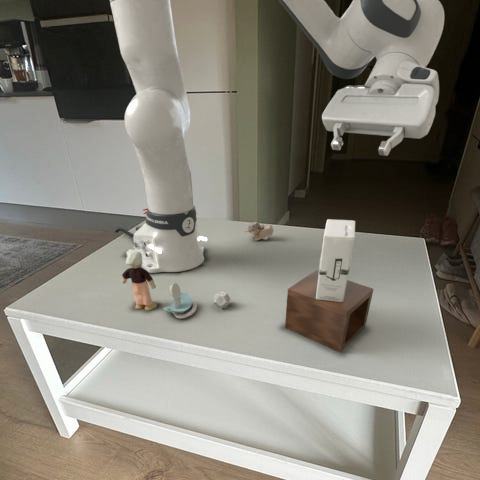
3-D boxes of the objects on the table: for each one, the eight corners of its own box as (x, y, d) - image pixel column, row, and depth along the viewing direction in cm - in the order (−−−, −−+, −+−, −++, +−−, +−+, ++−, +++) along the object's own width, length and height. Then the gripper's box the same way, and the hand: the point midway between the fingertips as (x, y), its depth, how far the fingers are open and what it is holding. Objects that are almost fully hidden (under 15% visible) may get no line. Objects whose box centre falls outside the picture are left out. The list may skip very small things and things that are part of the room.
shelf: (284, 327, 72) (287, 288, 67) (312, 307, 78) (316, 269, 73) (340, 352, 65) (347, 311, 60) (365, 328, 71) (373, 288, 66)
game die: (218, 300, 81) (217, 288, 79) (233, 303, 79) (233, 291, 77) (210, 308, 78) (209, 295, 76) (226, 311, 77) (225, 299, 75)
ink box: (318, 277, 70) (326, 217, 63) (345, 280, 69) (355, 219, 62) (314, 300, 63) (322, 234, 57) (344, 303, 62) (355, 237, 56)
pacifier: (202, 305, 79) (177, 300, 81) (201, 280, 75) (175, 275, 77) (186, 323, 73) (160, 317, 75) (184, 297, 70) (157, 291, 71)
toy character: (251, 242, 113) (243, 224, 111) (275, 233, 110) (268, 215, 108) (249, 247, 110) (241, 229, 107) (273, 238, 107) (266, 220, 104)
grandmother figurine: (163, 302, 80) (155, 248, 73) (158, 311, 77) (149, 255, 70) (129, 300, 81) (118, 246, 74) (123, 310, 78) (110, 254, 70)
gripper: (336, 72, 71) (304, 134, 71) (447, 71, 60) (411, 143, 60) (343, 98, 77) (314, 155, 76) (447, 101, 66) (414, 168, 65)
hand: (357, 150), depth 68 cm, fingers open, 8 cm apart
